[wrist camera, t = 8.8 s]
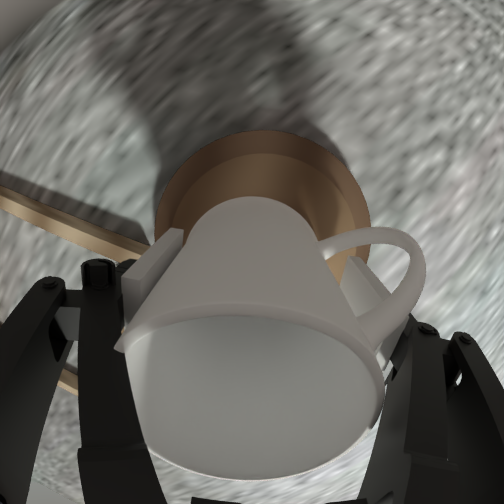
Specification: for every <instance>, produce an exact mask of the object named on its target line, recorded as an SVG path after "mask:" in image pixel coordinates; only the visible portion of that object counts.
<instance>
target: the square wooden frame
mask: <svg viewBox="0 0 504 504" xmlns="http://www.w3.org/2000/svg"><path fill="white" fill-rule="evenodd" d="M0 208H1V209H3V210H5V211H7V212H9V213H11V214H13V215H15V216H17V217H19V218H21V219H23V220H25V221H27V222H29V223H31V224H34V225H36V226H38V227H40V228H42V229H44V230H46V231H48V232H51V233H53V234H55V235H57V236H59V237H62V238H64V239H66V240H68V241H71V242H73V243H75V244H77V245H80V246H82V247H84V248H87V249H89V250H91V251H94V252H96V253H98V254H101V255H103V256H105V257H108V258H110V259H113V260H115V261H117V262H120V263H121V262H122V261H125V260H127V259H130V258H131V259H137V260H138V259H139V258H140V257H141V256H142V255H143V254H144V253H145V252H146V251H147V250H148V249H149V248H150V246H148V245H145V244H142V243H140V242H137V241H135V240H132V239H129V238H127V237H124V236H122V235H119V234H117V233H114V232H112V231H109V230H106V229H104V228H101V227H99V226H96V225H94V224H91V223H89V222H86V221H84V220H81V219H79V218H76V217H74V216H72V215H69V214H67V213H64V212H62V211H59V210H57V209H55V208H52V207H50V206H47V205H45V204H43V203H40V202H38V201H35V200H33V199H31V198H28V197H26V196H24V195H21V194H19V193H17V192H14V191H12V190H10V189H8V188H5V187H3V186H1V185H0ZM123 332H124V328H123V329H122V331H121V333H123ZM57 385H58V386H60V387H61V388H63V389H65V390H67V391H69V392H71V393H73V394H74V395H76V396H78V376H77V375H75V374H73V373H71V372H69V371H67V370H65V369H64V368H63V370H62V373H61V375H60V378H59V381H58V384H57Z"/></svg>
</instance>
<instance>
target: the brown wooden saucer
mask: <svg viewBox="0 0 504 504" xmlns="http://www.w3.org/2000/svg"><path fill="white" fill-rule="evenodd" d="M247 196H257V197H265V198H269V199H273V200H276V201H279V202H281V203H283V204H285V205H287V206H289V207H291V208H292V209H294V210H295V211H296V212H298V213H299V214H300V215H301V216H302V217H303V218H304V219H305V220H306V221H307V223H308V224H309V225H310V227H311V228H312V230H313V231H314V233H315V235H316V238H317V240H318V241H321V240H324V239H327V238H330V237H332V236H335V235H338V234H341V233H344V232H348V231H352V230H356V229H361V228H368V227H371V223H370V215H369V211H368V207H367V203H366V201H365V198H364V196H363V193H362V191H361V189H360V187H359V185H358V183H357V182H356V180H355V178H354V177H353V175H352V174H351V173H350V172H349V170H348V169H347V168H346V167H345V165H344V164H343V163H342V162H341V161H339V160H338V159H337V158H336V157H335V156H334V155H333V154H332V153H330V152H329V151H327V150H326V149H325V148H323V147H322V146H320V145H318V144H316V143H314V142H312V141H310V140H308V139H306V138H303V137H300V136H297V135H294V134H291V133H286V132H280V131H271V130H255V131H245V132H241V133H236V134H232V135H229V136H226V137H223V138H221V139H218V140H216V141H214V142H212V143H210V144H208V145H207V146H205V147H203V148H201V149H200V150H199V151H198V152H196V153H195V154H194V155H192V156H191V157H190V158H189V159H188V160H187V161H186V162H185V163H184V164H183V165H182V166H181V167H180V168H179V169H178V170H177V172H176V173H175V174H174V176H173V177H172V179H171V180H170V182H169V183H168V185H167V187H166V189H165V191H164V193H163V195H162V198H161V201H160V203H159V206H158V210H157V215H156V220H155V233H154V236H155V242H156V241H157V240H158V239H159V238H160V237H161V236H162V235H163V234H165V233H166V232H167V231H168V230H169V229H170V228H176V229H183V230H184V233H183V244H182V248H183V247H184V245H185V244H186V241H187V238H188V236H189V234H190V232H191V230H192V228H193V227H194V225H195V224H196V223H197V221H198V220H199V219H200V218H201V217H202V216H203V215H204V214H205V213H206V212H208V211H209V210H210V209H212V208H213V207H215V206H216V205H218V204H220V203H222V202H225V201H228V200H231V199H234V198H239V197H247ZM370 245H371V244H367V245H362V246H357V247H353V248H350V249H347V250H344V251H341V252H339V253H336V254H335V255H333V256H331V257H330V258H328V259H327V260H325V261H326V263H327V264H328V266H329V268H330V270H331V272H332V273H333V275H334V277H335V279H336V281H337V283H338V284H339V286H340V282H341V279H342V275H343V272H344V268H345V265H346V261H347V257H348V255H349V256H355V257H360V258H361V259H362V260H363V261H364V263H365V264H367V260H368V257H369V252H370Z"/></svg>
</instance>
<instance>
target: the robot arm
mask: <svg viewBox="0 0 504 504" xmlns="http://www.w3.org/2000/svg"><path fill="white" fill-rule="evenodd" d="M183 233H184V230H183V229H176V228H170V229H169V230H168V231H167V232H166V233H165V234H163V235H162V236H161V237H160V238H159V239H158V240H157V241H156V242H155V243H154V244H153V245H152V246H151V247H150V248H149V249H148V250H147V251H146V252H145V253H144V254H143V255H142V256H141V257H140V258H139V259H138V260H137V259H131V258H130V259H127V260H125V261H122V262H121V263H120V264H119V265H118V266H117V267H116V268H115V264H114V262H112V261H110V260H107V259H99V258H98V259H91V260H87V261H85V262H84V263H82V265H81V275H82V285H83V288H82V290H68V289H66V287H65V282H64V280H63V279H61V278H59V277H52V276H48V277H44V278H42V279H40V280H38V281H37V282H36V283H35V284H34V285H33V286H32V288H31V289H30V290H29V291H28V292H27V294H26V295H25V296H24V297H23V299H22V300H21V301H20V302H19V304H18V305H17V306H16V308H15V309H14V310H13V311H12V313H11V314H10V315H9V317H8V318H7V319H6V321H5V322H4V323H3V325H2V326H1V328H0V504H26V501H27V496H28V492H29V487H30V482H31V477H32V472H33V467H34V463H35V458H36V454H37V450H38V446H39V442H40V438H41V435H42V431H43V427H44V424H45V421H46V417H47V414H48V411H49V408H50V404H51V401H52V398H53V395H54V392H55V389H56V387H57V384H58V381H59V378H60V375H61V373H62V370H63V367H64V365H65V362H66V360H67V357H68V355H69V352H70V350H71V347H72V345H73V342H74V341H78V404H79V420H80V431H81V442H82V446H81V448H78V452H77V456H78V466H79V473H80V479H81V485H82V491H83V496H84V501H85V504H167V502H166V499H165V497H164V494H163V492H162V489H161V486H160V483H159V481H158V478H157V475H156V472H155V469H154V466H153V463H152V460H151V457H150V454H149V451H148V448H147V445H146V443H145V441H144V437H143V434H142V430H141V426H140V423H139V419H138V415H137V411H136V407H135V402H134V398H133V393H132V389H131V384H130V379H129V374H128V369H127V364H126V358H125V353H121V352H119V351H117V350H115V349H114V346H115V344H116V343H117V341H118V340H119V338H120V337H121V335H122V333H121V331H122V329H123V328H124V330H125V329H126V327H127V326H128V324H129V323H130V322H131V320H132V319H133V317H134V316H135V314H136V313H137V311H138V310H139V308H140V307H141V305H142V304H143V302H144V301H145V300H146V298H147V297H148V295H149V294H150V292H151V291H152V290H153V288H154V287H155V285H156V284H157V283H158V281H159V280H160V278H161V277H162V276H163V274H164V273H165V271H166V270H167V269H168V267H169V266H170V264H171V263H172V262H173V260H174V259H175V258H176V256H177V255H178V254H179V252H180V251H181V249H182V244H183ZM340 288H341V290H342V292H343V294H344V296H345V297H346V299H347V301H348V303H349V305H350V307H351V309H352V311H353V313H354V315H355V316H356V317H357V316H360V315H362V314H364V313H366V312H368V311H370V310H371V309H373V308H375V307H376V306H378V305H379V304H381V303H382V302H383V301H384V300H385V299H387V298H388V297H389V296H390V295H391V293H390V292H389V291H388V290H387V288H386V287H385V286H384V285H383V284H382V282H381V281H380V280H379V279H378V278H377V277H376V275H375V274H374V273H373V272H372V271H371V269H370V268H369V267H368V266H367V265H366V264H365V263H364V261H363V260H362V259H361V258H360V257H355V256H349V255H348V257H347V261H346V265H345V268H344V272H343V275H342V279H341V282H340ZM374 354H375V356H376V358H377V361H378V363H379V365H380V368H381V370H382V371H384V370H385V368H386V367H387V365H388V363H389V361H390V360H391V362H392V364H393V365H394V366H393V368H392V369H391V371H390V373H389V375H388V377H387V379H386V381H385V382H384V383H385V386H386V384H387V389H386V395H385V400H384V405H383V410H382V414H381V419H380V423H379V427H378V431H377V435H376V439H375V443H374V447H373V450H372V454H371V457H370V461H369V464H368V468H367V471H366V474H365V477H364V480H363V483H362V486H361V489H360V492H359V495H358V497H357V499H356V500H349V501H340V502H330V503H326V504H504V389H503V387H502V385H501V383H500V381H499V380H498V378H497V376H496V374H495V372H494V371H493V369H492V367H491V365H490V364H489V362H488V360H487V359H486V357H485V355H484V354H483V352H482V350H481V349H480V347H479V346H478V344H477V342H476V341H475V340H474V339H473V338H472V337H471V336H470V335H469V334H467V333H465V332H464V333H463V332H454V334H453V336H452V338H451V340H446V339H442V338H440V335H439V333H438V331H437V330H436V329H435V328H434V327H432V326H431V325H429V324H427V323H423V322H417V320H416V319H415V318H414V317H413V315H412V314H411V313H410V314H409V315H408V316H407V317H406V319H405V320H404V321H403V322H402V323H401V324H400V325H399V326H398V327H397V328H396V329H395V330H394V331H393V332H392V333H391V334H390V335H389V336H388V337H387V338H386V339H385V340H384V341H383V342H382V343H381V344H380V345H379V346H378V348H377V349H376V351H375V352H374ZM461 373H462V379H461V382H460V384H459V385H458V386H457V384H456V381H457V379H458V377H459V376H460V374H461ZM447 458H448V460H447ZM191 504H241V503H236V502H226V501H217V500H210V499H203V498H197V497H192V499H191Z"/></svg>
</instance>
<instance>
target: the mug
mask: <svg viewBox="0 0 504 504" xmlns="http://www.w3.org/2000/svg"><path fill="white" fill-rule="evenodd" d="M367 244H391V245H395V246H398V247H401V248H403V249H404V250H406V251H407V252H408V253H409V255H410V264H409V268H408V270H407V273H406V275H405V277H404V278H403V280H402V281H401V283H400V284H399V286H398V287H397V288H396V289H395V290H394V292H393V293H392V294H391V295H390V296H389V297H388V298H387V299H385V300H384V301H383V302H382V303H381V304H379V305H378V306H376V307H375V308H373V309H371V310H370V311H368V312H366V313H364V314H362V315H360V316H357V317H356V316H355V315H354V313H353V311H352V309H351V307H350V305H349V303H348V301H347V299H346V297H345V296H344V294H343V292H342V290H341V288H340V286H339V284H338V283H337V281H336V279H335V277H334V275H333V273H332V272H331V270H330V268H329V266H328V264H327V263H326V261H325V260H327V259H328V258H330V257H331V256H333V255H335V254H336V253H339V252H341V251H344V250H347V249H350V248H353V247H357V246H362V245H367ZM425 277H426V264H425V259H424V255H423V252H422V250H421V248H420V246H419V245H418V243H417V242H416V241H415V240H414V239H413V238H412V237H411V236H410V235H408V234H407V233H405V232H403V231H401V230H398V229H395V228H389V227H368V228H361V229H356V230H352V231H348V232H344V233H341V234H338V235H335V236H332V237H330V238H327V239H324V240H321V241H318V240H317V238H316V235H315V233H314V231H313V230H312V228H311V227H310V225H309V224H308V223H307V221H306V220H305V219H304V218H303V217H302V216H301V215H300V214H299V213H298V212H296V211H295V210H294V209H292V208H291V207H289V206H287V205H285V204H283V203H281V202H279V201H276V200H273V199H269V198H265V197H257V196H247V197H239V198H234V199H231V200H228V201H225V202H222V203H220V204H218V205H216V206H215V207H213V208H212V209H210V210H209V211H208V212H206V213H205V214H204V215H203V216H202V217H201V218H200V219H199V220H198V221H197V223H196V224H195V225H194V227H193V228H192V230H191V232H190V234H189V236H188V238H187V241H186V244H185V245H184V247H183V248H182V249H181V251H180V252H179V254H178V255H177V256H176V258H175V259H174V260H173V262H172V263H171V264H170V266H169V267H168V269H167V270H166V271H165V273H164V274H163V276H162V277H161V278H160V280H159V281H158V283H157V284H156V285H155V287H154V288H153V290H152V291H151V292H150V294H149V295H148V297H147V298H146V300H145V301H144V302H143V304H142V305H141V307H140V308H139V310H138V311H137V313H136V314H135V316H134V317H133V319H132V320H131V322H130V323H129V324H128V326H127V327H126V329H125V330H124V332H123V333H122V335H121V337H120V338H119V340H118V341H117V343H116V344H115V346H114V349H115V350H117V351H119V352H121V353H125V358H126V364H127V369H128V374H129V379H130V384H131V389H132V393H133V398H134V402H135V407H136V411H137V415H138V419H139V423H140V426H141V430H142V434H143V437H144V441H145V443H146V445H147V448H148V451H149V452H151V453H152V454H154V455H155V456H157V457H159V458H160V459H162V460H164V461H166V462H168V463H170V464H172V465H174V466H177V467H179V468H182V469H184V470H187V471H190V472H193V473H196V474H200V475H204V476H208V477H213V478H218V479H225V480H234V481H268V480H277V479H283V478H288V477H293V476H297V475H301V474H304V473H307V472H310V471H313V470H316V469H318V468H321V467H323V466H325V465H328V464H330V463H332V462H333V461H335V460H337V459H339V458H340V457H342V456H343V455H345V454H346V453H348V452H349V451H351V450H352V449H353V448H354V447H356V446H357V445H358V444H359V443H360V442H361V441H362V440H363V439H364V438H365V437H366V436H367V435H368V433H369V432H370V431H371V429H372V428H373V426H374V425H375V423H376V422H377V420H378V418H379V416H380V413H381V411H382V407H383V404H384V398H385V383H384V377H383V373H382V370H381V368H380V365H379V363H378V361H377V358H376V356H375V354H374V352H375V351H376V349H377V348H378V346H379V345H380V344H381V343H382V342H383V341H384V340H385V339H386V338H387V337H388V336H389V335H390V334H391V333H392V332H393V331H394V330H395V329H396V328H397V327H398V326H399V325H400V324H401V323H402V322H403V321H404V320H405V319H406V317H407V316H408V315H409V314H410V312H411V311H412V309H413V308H414V306H415V305H416V303H417V301H418V299H419V297H420V295H421V292H422V290H423V287H424V283H425Z"/></svg>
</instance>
